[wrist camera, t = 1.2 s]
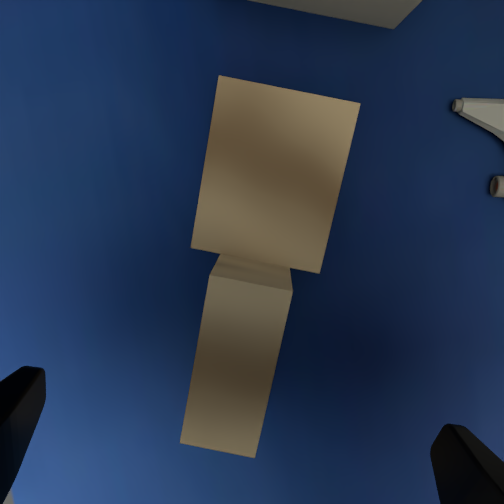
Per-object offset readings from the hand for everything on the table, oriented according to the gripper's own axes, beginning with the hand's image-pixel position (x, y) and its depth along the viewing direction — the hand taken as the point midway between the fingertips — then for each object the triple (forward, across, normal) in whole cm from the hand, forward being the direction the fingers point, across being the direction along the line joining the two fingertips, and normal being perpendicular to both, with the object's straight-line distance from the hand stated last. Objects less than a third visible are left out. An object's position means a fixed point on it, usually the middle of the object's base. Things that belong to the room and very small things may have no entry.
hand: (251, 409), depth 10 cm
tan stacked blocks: (+10, -1, +2) cm, 10 cm away
